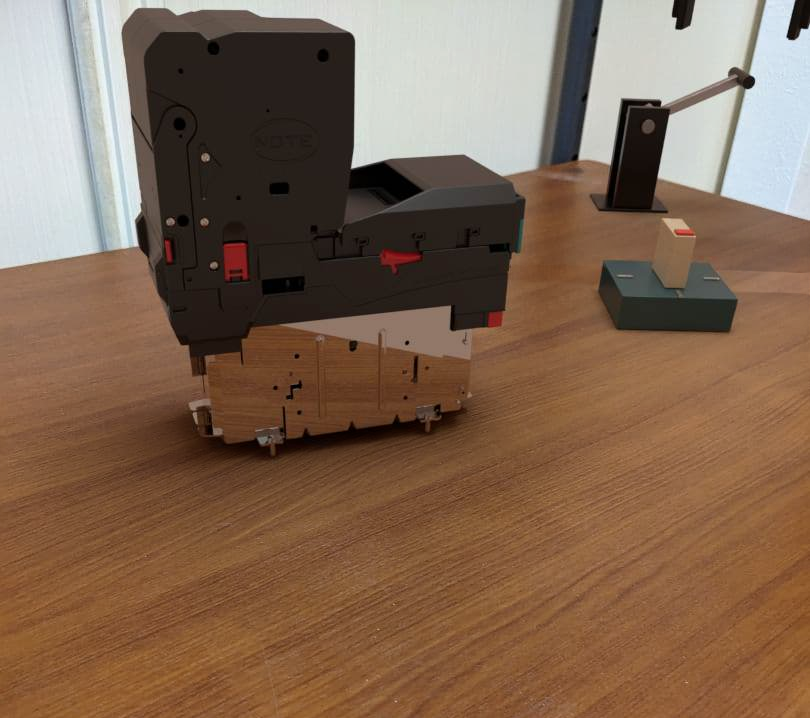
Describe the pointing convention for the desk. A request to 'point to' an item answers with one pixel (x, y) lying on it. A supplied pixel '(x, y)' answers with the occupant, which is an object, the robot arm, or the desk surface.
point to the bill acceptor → (303, 232)
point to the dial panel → (666, 298)
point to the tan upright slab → (673, 253)
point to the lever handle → (712, 90)
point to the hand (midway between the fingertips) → (736, 33)
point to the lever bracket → (635, 158)
